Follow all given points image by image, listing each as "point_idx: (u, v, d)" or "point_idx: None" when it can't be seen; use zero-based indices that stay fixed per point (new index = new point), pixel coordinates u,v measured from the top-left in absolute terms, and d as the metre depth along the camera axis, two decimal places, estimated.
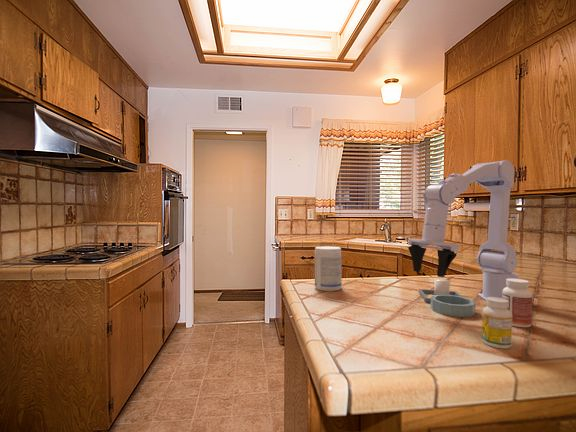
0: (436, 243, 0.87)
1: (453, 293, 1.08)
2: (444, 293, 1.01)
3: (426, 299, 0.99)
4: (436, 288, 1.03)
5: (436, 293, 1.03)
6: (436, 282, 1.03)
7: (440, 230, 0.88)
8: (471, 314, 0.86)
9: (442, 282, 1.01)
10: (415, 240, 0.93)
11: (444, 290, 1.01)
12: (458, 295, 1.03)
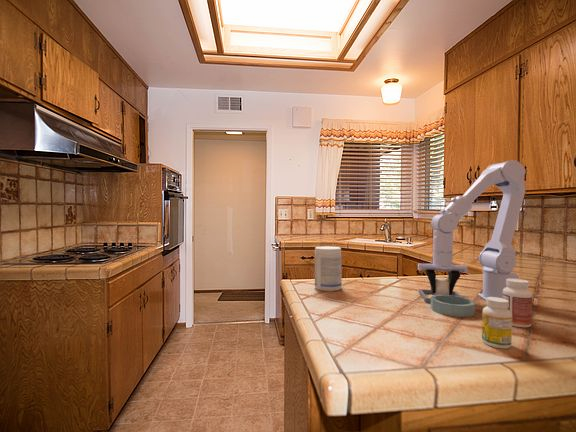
0: (453, 268, 1.01)
1: (453, 293, 1.08)
2: (444, 293, 1.01)
3: (426, 299, 0.99)
4: (436, 287, 1.03)
5: (436, 293, 1.03)
6: (436, 282, 1.03)
7: (452, 255, 1.02)
8: (471, 314, 0.86)
9: (442, 282, 1.01)
10: (428, 266, 1.03)
11: (444, 290, 1.01)
12: (458, 295, 1.03)
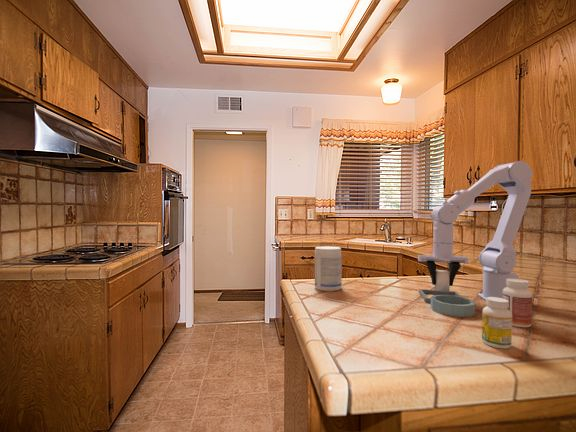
0: (453, 259, 1.00)
1: (453, 293, 1.08)
2: (444, 284, 1.01)
3: (426, 299, 0.99)
4: (437, 279, 1.03)
5: (436, 284, 1.03)
6: (436, 273, 1.03)
7: (452, 246, 1.02)
8: (471, 314, 0.86)
9: (442, 273, 1.01)
10: (428, 257, 1.03)
11: (444, 281, 1.01)
12: (458, 295, 1.03)
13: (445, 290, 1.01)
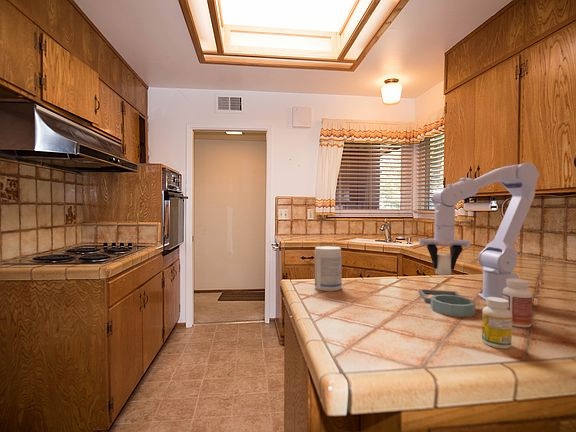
0: (455, 242, 0.99)
1: (453, 293, 1.08)
2: (445, 268, 1.00)
3: (426, 299, 0.99)
4: (438, 262, 1.01)
5: (438, 268, 1.01)
6: (438, 257, 1.01)
7: (454, 229, 1.00)
8: (471, 314, 0.86)
9: (444, 256, 1.00)
10: (430, 240, 1.01)
11: (446, 265, 1.00)
12: (458, 295, 1.03)
13: (446, 274, 1.00)
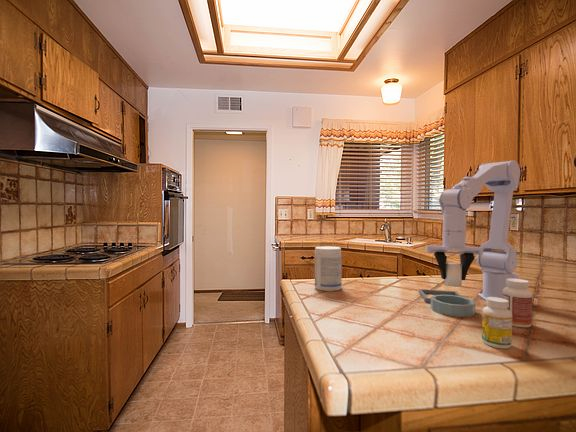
0: (467, 249, 0.88)
1: (453, 293, 1.08)
2: (456, 278, 0.89)
3: (426, 299, 0.99)
4: (447, 272, 0.90)
5: (447, 278, 0.90)
6: (447, 266, 0.90)
7: (465, 235, 0.89)
8: (471, 314, 0.86)
9: (454, 266, 0.89)
10: (438, 248, 0.90)
11: (456, 275, 0.89)
12: (458, 295, 1.03)
13: (457, 285, 0.89)
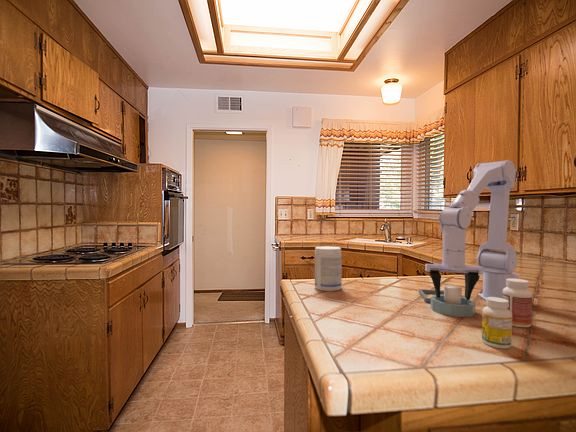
0: (466, 269, 0.88)
1: None
2: (455, 302, 0.89)
3: (426, 299, 0.99)
4: (447, 296, 0.90)
5: (446, 302, 0.91)
6: (446, 290, 0.91)
7: (464, 254, 0.90)
8: (471, 314, 0.86)
9: (453, 290, 0.89)
10: (437, 266, 0.91)
11: (455, 299, 0.89)
12: None
13: None
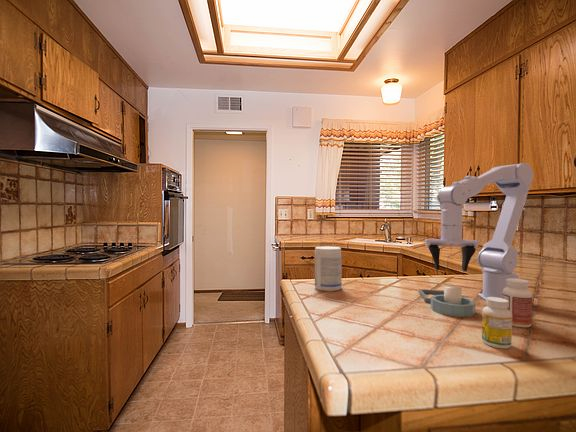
0: (463, 242, 0.95)
1: None
2: (455, 302, 0.89)
3: (426, 299, 0.99)
4: (447, 296, 0.90)
5: (446, 302, 0.91)
6: (446, 290, 0.91)
7: (461, 229, 0.96)
8: (471, 314, 0.86)
9: (453, 290, 0.89)
10: (436, 241, 0.97)
11: (455, 299, 0.89)
12: None
13: None
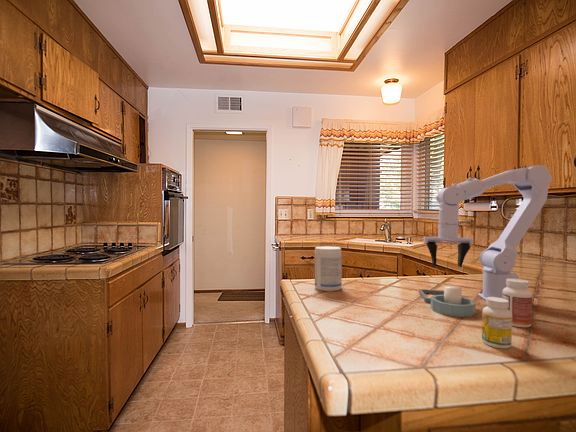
0: (459, 239, 1.02)
1: None
2: (455, 302, 0.89)
3: (426, 299, 0.99)
4: (447, 296, 0.90)
5: (446, 302, 0.91)
6: (446, 290, 0.91)
7: (457, 227, 1.03)
8: (471, 314, 0.86)
9: (453, 290, 0.89)
10: (434, 238, 1.04)
11: (455, 299, 0.89)
12: None
13: None
